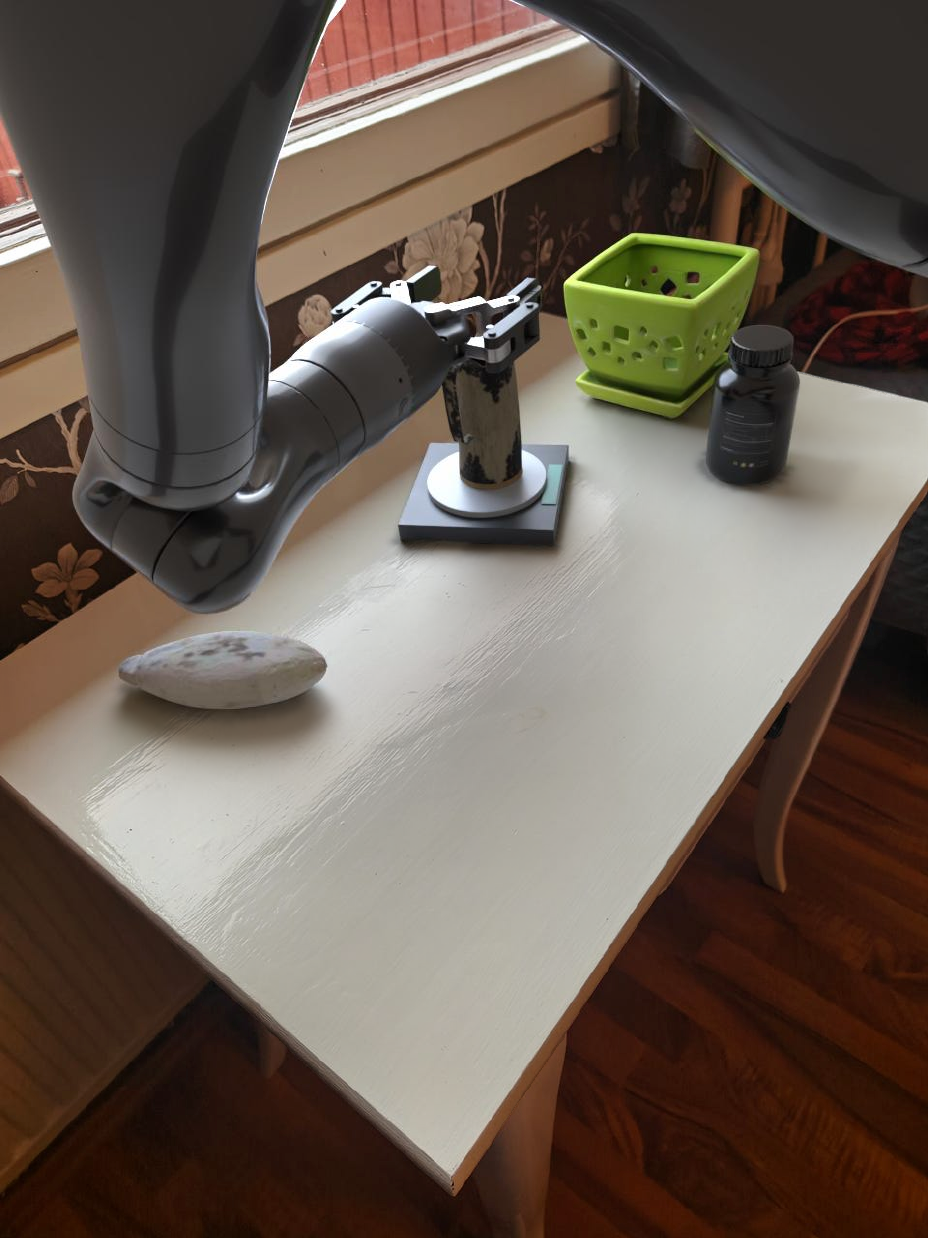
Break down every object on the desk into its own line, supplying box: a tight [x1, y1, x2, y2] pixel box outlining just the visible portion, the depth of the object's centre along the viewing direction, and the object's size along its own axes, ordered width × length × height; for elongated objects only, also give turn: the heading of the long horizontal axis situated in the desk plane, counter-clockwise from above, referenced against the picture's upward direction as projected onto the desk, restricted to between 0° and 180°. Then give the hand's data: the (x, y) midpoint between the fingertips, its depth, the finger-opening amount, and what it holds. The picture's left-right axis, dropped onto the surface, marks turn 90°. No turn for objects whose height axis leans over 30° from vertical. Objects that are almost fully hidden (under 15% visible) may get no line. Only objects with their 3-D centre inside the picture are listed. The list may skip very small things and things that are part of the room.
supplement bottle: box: [705, 324, 801, 486], centre depth 72 cm, size 7×7×12 cm
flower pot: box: [563, 232, 761, 420], centre depth 84 cm, size 14×14×13 cm
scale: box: [397, 442, 570, 547], centre depth 76 cm, size 13×13×2 cm
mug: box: [441, 357, 523, 490], centre depth 71 cm, size 8×6×12 cm
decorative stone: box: [117, 630, 328, 710], centre depth 61 cm, size 6×16×3 cm, turn 86°
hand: (484, 284), depth 65 cm, fingers open, 8 cm apart
